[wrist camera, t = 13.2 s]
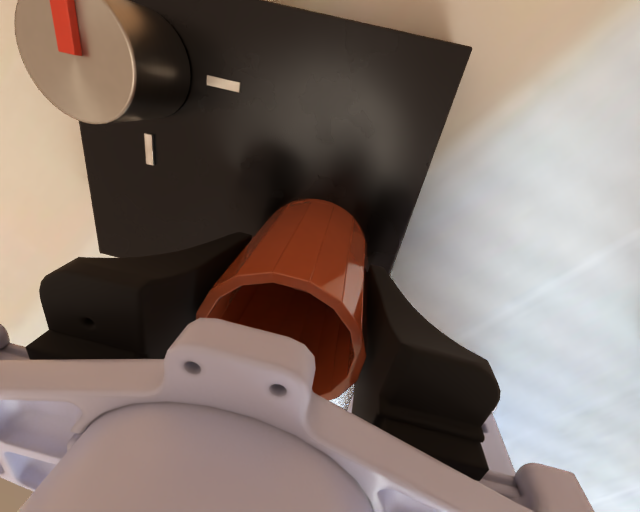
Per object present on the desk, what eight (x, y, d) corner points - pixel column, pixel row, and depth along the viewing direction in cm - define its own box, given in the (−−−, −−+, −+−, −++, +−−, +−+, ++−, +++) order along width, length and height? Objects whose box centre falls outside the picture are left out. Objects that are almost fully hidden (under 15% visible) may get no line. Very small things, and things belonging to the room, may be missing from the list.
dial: (191, 127, 14) (134, 137, 10) (105, 107, 14) (22, 111, 11) (191, 16, 12) (121, -15, 9) (92, -6, 12) (-15, -44, 9)
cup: (380, 213, 14) (388, 301, 8) (351, 303, 17) (341, 422, 11) (269, 186, 15) (196, 253, 8) (257, 279, 17) (194, 383, 11)
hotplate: (467, 23, 13) (488, 7, 10) (372, 296, 19) (372, 324, 17) (85, -61, 13) (24, -94, 11) (120, 233, 20) (87, 251, 18)
